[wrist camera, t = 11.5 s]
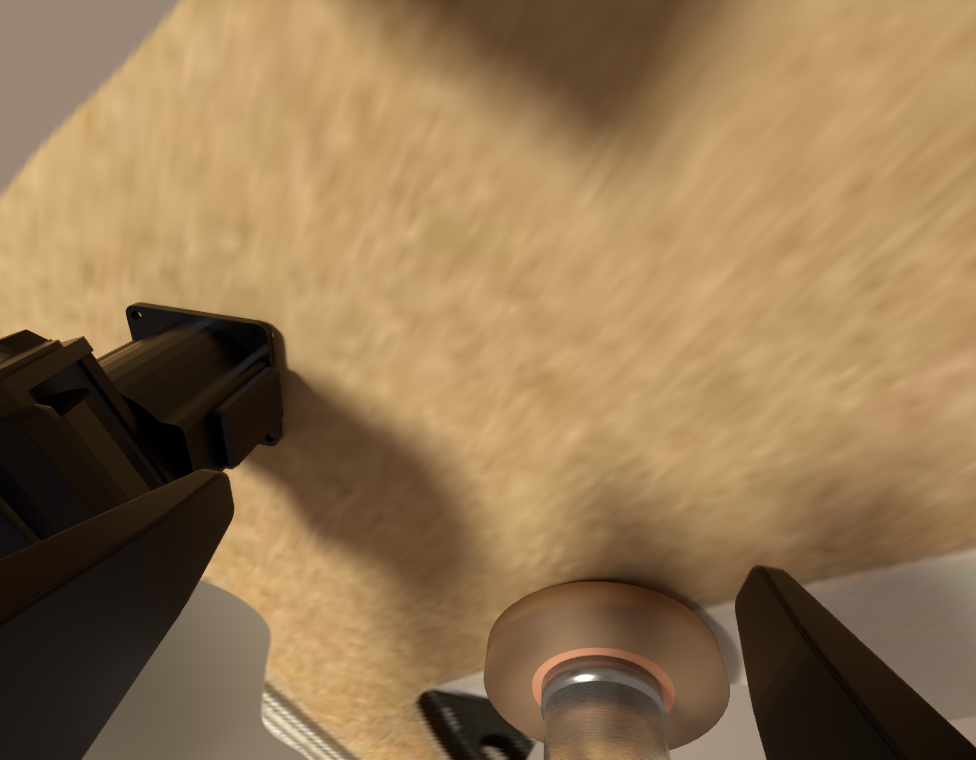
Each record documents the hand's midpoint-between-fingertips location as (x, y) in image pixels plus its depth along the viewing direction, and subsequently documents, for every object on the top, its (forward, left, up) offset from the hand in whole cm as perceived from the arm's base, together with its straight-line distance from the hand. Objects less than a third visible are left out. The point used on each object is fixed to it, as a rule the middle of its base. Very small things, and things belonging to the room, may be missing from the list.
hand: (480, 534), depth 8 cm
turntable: (+7, -21, -13) cm, 25 cm away
